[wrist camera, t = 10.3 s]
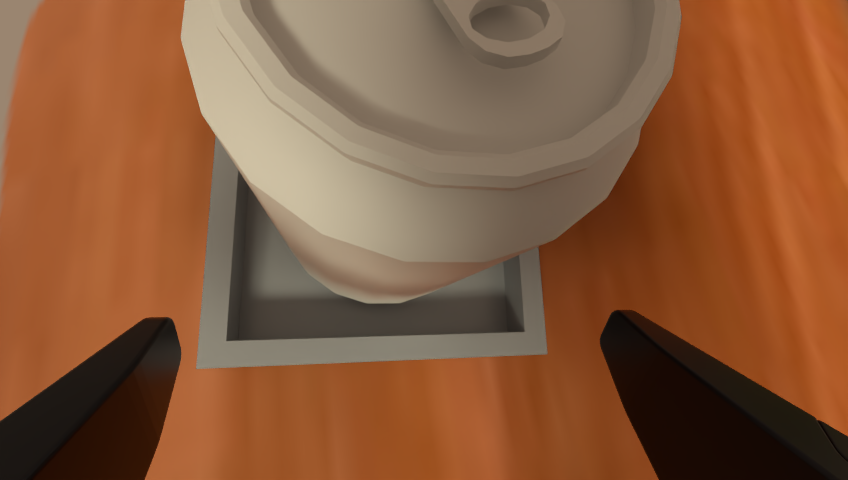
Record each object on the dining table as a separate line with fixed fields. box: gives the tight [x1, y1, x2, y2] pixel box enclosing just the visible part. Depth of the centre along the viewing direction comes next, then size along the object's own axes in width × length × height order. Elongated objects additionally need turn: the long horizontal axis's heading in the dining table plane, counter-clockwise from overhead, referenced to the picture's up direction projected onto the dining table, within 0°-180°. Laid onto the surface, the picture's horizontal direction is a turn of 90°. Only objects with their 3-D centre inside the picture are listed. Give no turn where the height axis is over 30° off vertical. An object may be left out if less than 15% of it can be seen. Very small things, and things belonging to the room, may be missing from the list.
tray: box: [196, 136, 547, 369], centre depth 16 cm, size 12×12×2 cm
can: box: [181, 0, 682, 304], centre depth 11 cm, size 8×8×12 cm
